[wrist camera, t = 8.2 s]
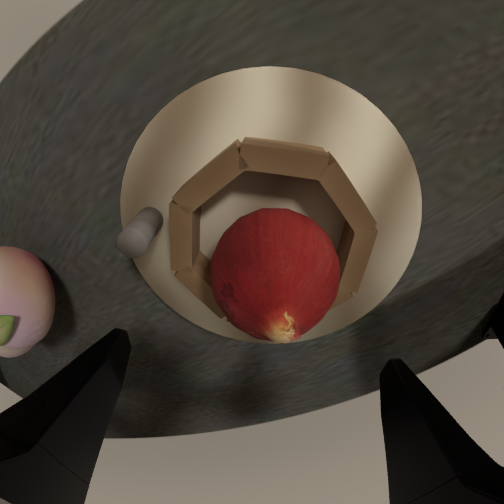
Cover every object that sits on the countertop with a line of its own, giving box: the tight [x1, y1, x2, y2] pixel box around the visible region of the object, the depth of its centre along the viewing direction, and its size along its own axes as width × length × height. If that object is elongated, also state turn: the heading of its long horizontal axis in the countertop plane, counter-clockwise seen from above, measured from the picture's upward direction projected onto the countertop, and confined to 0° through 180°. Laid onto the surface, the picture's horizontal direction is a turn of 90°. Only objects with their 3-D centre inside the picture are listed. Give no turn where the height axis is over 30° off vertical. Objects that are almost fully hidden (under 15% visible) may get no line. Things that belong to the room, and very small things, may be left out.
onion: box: [210, 208, 340, 344], centre depth 14 cm, size 6×6×8 cm
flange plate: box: [117, 66, 422, 344], centre depth 16 cm, size 18×18×4 cm
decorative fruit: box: [0, 246, 55, 358], centre depth 17 cm, size 9×8×10 cm
